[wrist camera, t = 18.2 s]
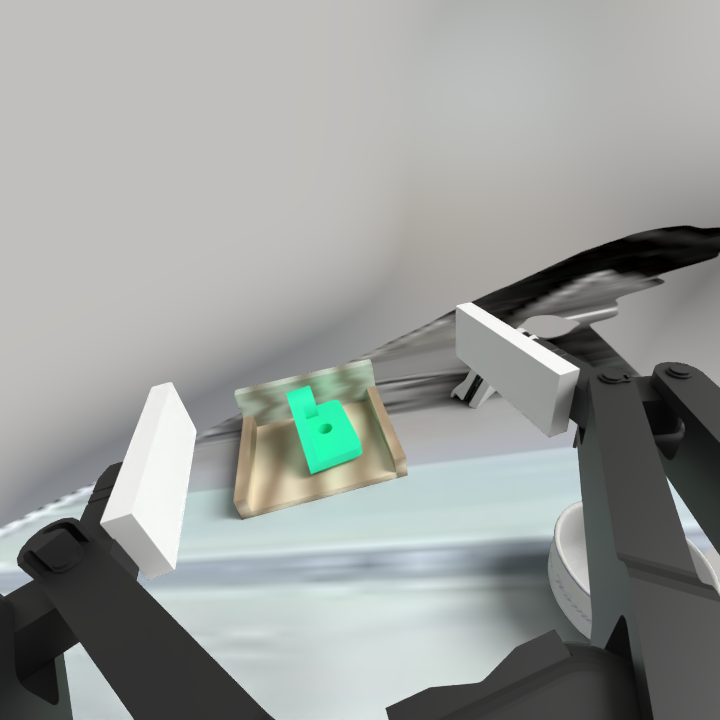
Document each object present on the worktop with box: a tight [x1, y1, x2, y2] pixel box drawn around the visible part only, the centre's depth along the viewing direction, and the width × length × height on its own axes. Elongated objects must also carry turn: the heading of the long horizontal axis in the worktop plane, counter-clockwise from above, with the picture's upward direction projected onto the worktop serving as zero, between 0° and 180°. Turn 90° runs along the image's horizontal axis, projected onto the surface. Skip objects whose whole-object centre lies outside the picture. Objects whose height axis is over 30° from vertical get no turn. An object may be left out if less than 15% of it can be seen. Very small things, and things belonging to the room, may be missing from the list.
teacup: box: [548, 501, 720, 640], centre depth 29 cm, size 14×11×8 cm
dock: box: [233, 359, 408, 519], centre depth 52 cm, size 22×18×8 cm
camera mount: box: [286, 386, 362, 474], centre depth 51 cm, size 12×8×10 cm, turn 20°
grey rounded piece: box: [450, 328, 538, 409], centre depth 60 cm, size 17×5×10 cm, turn 132°
